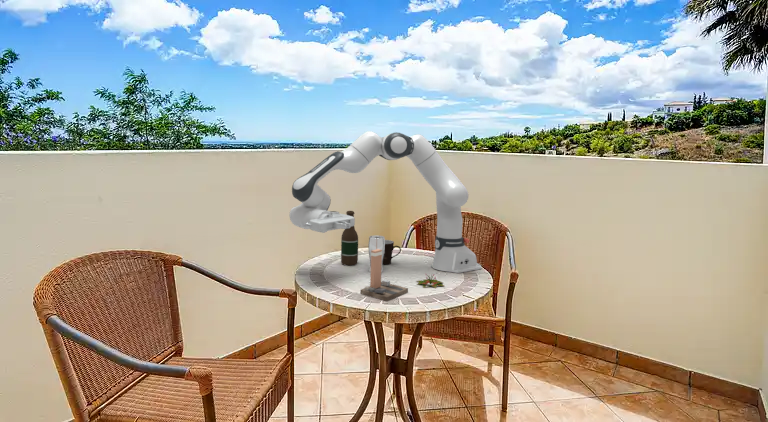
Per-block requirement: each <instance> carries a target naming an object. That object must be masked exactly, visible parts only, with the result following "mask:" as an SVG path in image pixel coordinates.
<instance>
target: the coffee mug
mask: <svg viewBox="0 0 768 422" xmlns="http://www.w3.org/2000/svg"><path fill="white" fill-rule="evenodd" d="M394 244H395V242H394V240H390V239H385V251H384V256H383V262H382V266H388V265H391V264H392V259H393V258H395V257H397V256H399V254H401V252H402V249H401V247H400V246H399V245H394ZM395 248H398V249H399V252H398V253H397V254H395V255H393V251H394V250H395Z"/></svg>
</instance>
